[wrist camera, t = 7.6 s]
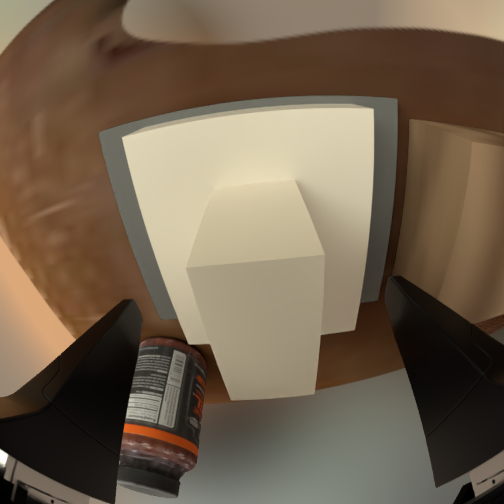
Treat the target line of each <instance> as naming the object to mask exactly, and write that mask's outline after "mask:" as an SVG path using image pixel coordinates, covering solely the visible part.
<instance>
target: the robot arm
mask: <svg viewBox="0 0 504 504" xmlns="http://www.w3.org/2000/svg"><path fill="white" fill-rule="evenodd" d="M385 302H386V306H387V310H388V313H389V317H390V321H391V325H392V329H393V333H394V337H395V339H396V342H397V345H398V348H399V351H400V354H401V357H402V359H403V362H404V365H405V368H406V371H407V374H408V377H409V381H410V384H411V387H412V390H413V393H414V397H415V400H416V404H417V407H418V411H419V414H420V418H421V422H422V425H423V430H424V434H425V437H426V442H427V447H428V451H429V456H430V461H431V465H432V470H433V476H434V481H435V486H436V488H438V487H440V486H442V485H444V484H447V483H449V482H451V481H453V480H455V479H457V478H459V477H461V476H463V475H465V474H467V473H470V477H471V482H469V483H467V484H465V485H463V486H462V488H461V490H460V492H459V494H458V496H457V497H456V499H455V501H454V503H453V504H504V345H503V344H502V343H500V342H498V341H497V340H495V339H494V338H492V337H491V336H489V335H488V334H486V333H485V332H483V331H482V330H480V329H479V328H478V327H476V326H475V325H473V324H472V323H471V324H470V322H469V321H468V320H466V319H465V318H464V317H462V316H461V315H459V314H458V313H456V312H455V311H453V310H452V309H451V308H449V307H448V306H446V305H445V304H443V303H442V302H440V301H439V300H437V299H436V298H434V297H433V296H431V295H430V294H428V293H427V292H425V291H424V290H422V289H421V288H419V287H418V286H416V285H415V284H413V283H412V282H410V281H408V280H407V279H405V278H404V277H402V276H400V275H396V276H390V277H389V278H388V282H387V286H386V291H385ZM142 323H143V317H142V314H141V312H140V310H139V308H138V306H137V304H136V302H135V300H133V299H124V300H122V301H121V302H120V303H119V304H118V305H116V306H115V307H114V308H113V309H112V310H110V311H109V312H108V313H107V314H106V315H105V316H103V317H102V318H101V319H100V320H99V321H98V322H96V323H95V324H94V325H93V326H92V327H91V328H90V329H88V330H87V331H86V332H85V333H84V334H83V335H82V336H80V337H79V338H78V339H77V340H76V341H75V342H74V343H73V344H71V345H70V346H69V347H68V348H67V349H66V350H65V351H64V352H62V353H61V355H59V356H58V357H57V358H56V359H55V360H54V361H53V362H51V363H50V364H49V365H48V366H47V367H46V368H45V369H44V370H42V371H41V372H40V373H39V374H37V375H36V376H35V377H34V378H32V379H31V380H30V381H29V382H27V383H26V384H25V385H24V386H23V387H21V388H20V389H19V390H17V391H16V392H15V393H13V394H11V395H9V396H6V397H0V504H88V503H89V498H90V497H92V498H95V499H98V500H101V501H103V502H106V503H109V504H115V496H116V486H117V477H118V468H119V460H120V452H121V445H122V438H123V431H124V425H125V419H126V414H127V408H128V403H129V398H130V392H131V387H132V383H133V378H134V373H135V369H136V364H137V359H138V354H139V346H140V338H141V330H142Z"/></svg>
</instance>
